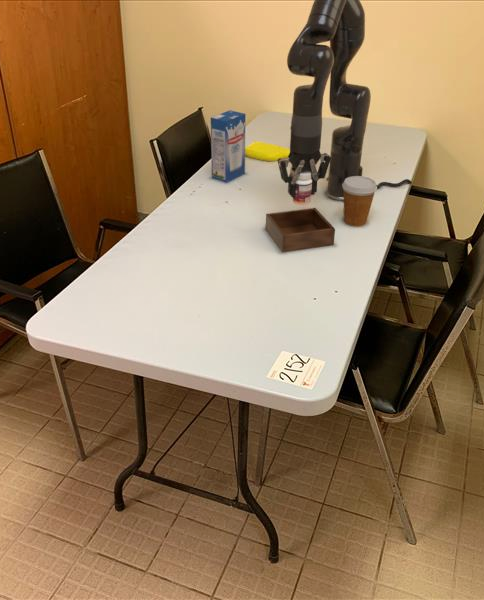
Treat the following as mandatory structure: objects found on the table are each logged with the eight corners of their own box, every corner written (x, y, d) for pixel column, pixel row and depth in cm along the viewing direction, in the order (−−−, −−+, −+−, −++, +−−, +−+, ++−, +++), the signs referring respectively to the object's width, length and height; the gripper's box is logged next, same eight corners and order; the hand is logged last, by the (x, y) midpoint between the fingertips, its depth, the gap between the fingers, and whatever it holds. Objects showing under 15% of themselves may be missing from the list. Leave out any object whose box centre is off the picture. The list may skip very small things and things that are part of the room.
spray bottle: (256, 147, 221) (317, 160, 212) (241, 156, 213) (304, 170, 204) (256, 140, 220) (318, 152, 210) (241, 148, 212) (305, 162, 202)
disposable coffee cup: (351, 211, 177) (356, 172, 170) (378, 221, 171) (384, 182, 164) (331, 221, 171) (335, 181, 165) (358, 232, 166) (364, 191, 159)
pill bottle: (291, 198, 159) (292, 168, 154) (308, 197, 160) (311, 167, 155) (294, 206, 155) (295, 175, 151) (312, 205, 156) (314, 175, 151)
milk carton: (226, 182, 194) (226, 121, 183) (211, 178, 197) (210, 117, 186) (244, 173, 201) (245, 113, 189) (230, 169, 204) (230, 110, 192)
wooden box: (314, 223, 170) (315, 207, 168) (333, 245, 159) (335, 228, 157) (265, 229, 167) (265, 213, 164) (282, 252, 156) (282, 236, 153)
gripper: (283, 138, 142) (281, 204, 152) (339, 132, 145) (333, 197, 155) (273, 128, 148) (271, 192, 158) (327, 123, 151) (321, 186, 161)
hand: (302, 194), depth 156 cm, fingers closed on pill bottle, 4 cm apart
